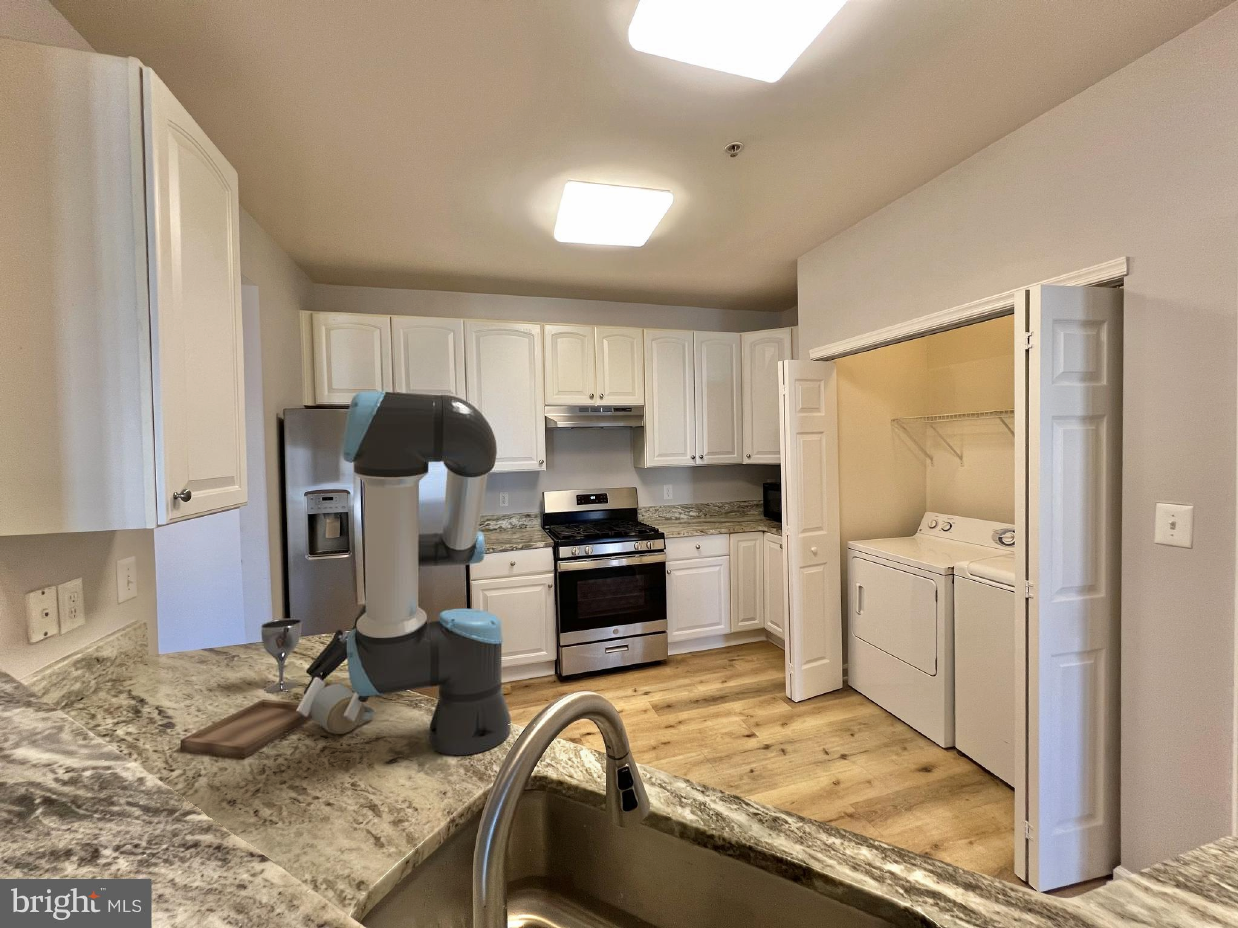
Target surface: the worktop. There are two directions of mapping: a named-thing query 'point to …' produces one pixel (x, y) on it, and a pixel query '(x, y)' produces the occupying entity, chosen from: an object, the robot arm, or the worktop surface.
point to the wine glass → (281, 647)
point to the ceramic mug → (337, 709)
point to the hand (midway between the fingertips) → (324, 715)
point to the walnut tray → (246, 730)
